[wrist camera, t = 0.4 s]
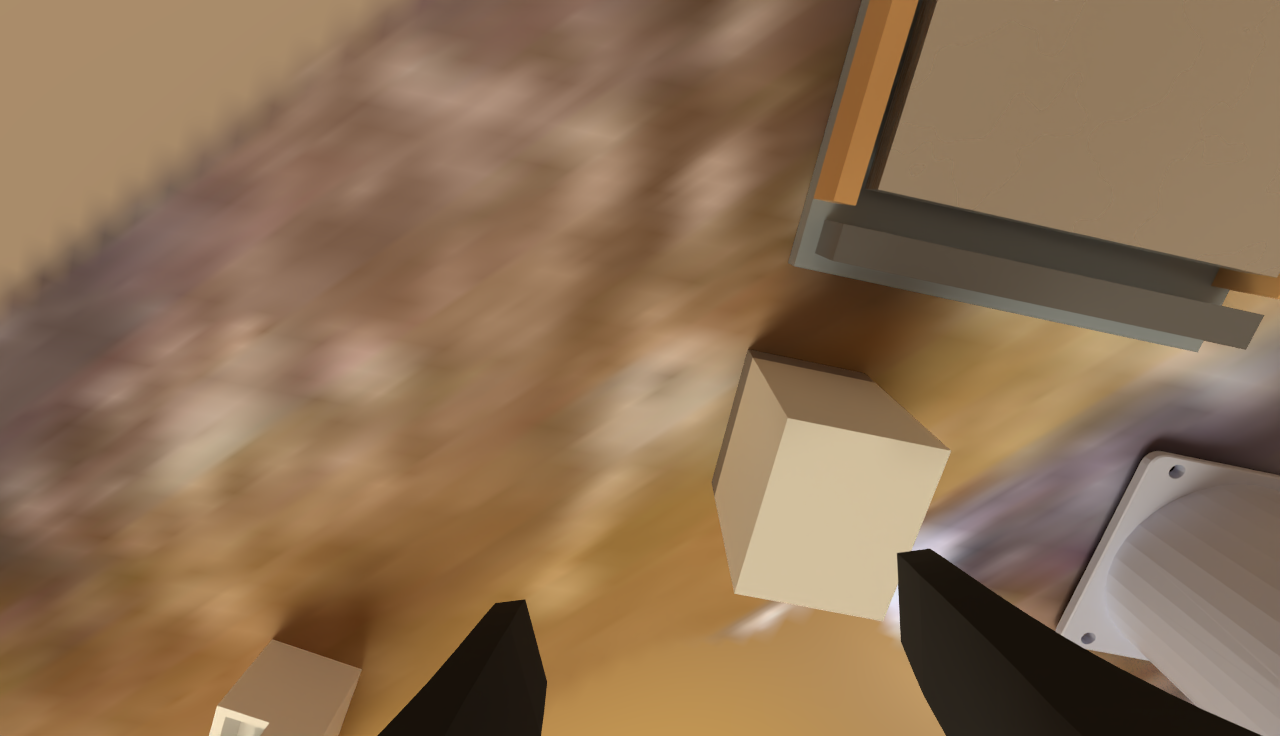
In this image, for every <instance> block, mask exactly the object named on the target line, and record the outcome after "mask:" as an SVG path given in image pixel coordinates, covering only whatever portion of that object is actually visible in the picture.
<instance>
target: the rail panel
mask: <svg viewBox="0 0 1280 736" xmlns="http://www.w3.org/2000/svg"><path fill="white" fill-rule="evenodd" d="M922 1H923V0H862V2H861V5H860V9H859V12H858V16H857V19H856V23H855V27H854V30H853V34H852V37H851V41H850V44H849V48H848V51H847V55H846V59H845V62H844V66H843V69H842V73H841V76H840V80H839V84H838V87H837V91H836V94H835V98H834V101H833V105H832V108H831V112H830V116H829V119H828V123H827V126H826V130H825V133H824V137H823V140H822V144H821V148H820V151H819V155H818V158H817V162H816V165H815V169H814V173H813V176H812V180H811V183H810V187H809V190H808V194H807V197H806V201H805V205H804V208H803V212H802V215H801V219H800V222H799V226H798V230H797V233H796V237H795V240H794V244H793V247H792V251H791V254H790V258H789V262H788V263H790V264H791V265H793V266H796V267H800V268H805V269H810V270H814V271H819V272H824V273H828V274H833V275H838V276H842V277H847V278H852V279H856V280H861V281H866V282H871V283H875V284H880V285H885V286H889V287H894V288H899V289H903V290H908V291H913V292H917V293H922V294H927V295H931V296H936V297H941V298H946V299H950V300H955V301H960V302H964V303H969V304H974V305H978V306H983V307H988V308H992V309H997V310H1002V311H1006V312H1011V313H1016V314H1021V315H1025V316H1030V317H1035V318H1039V319H1044V320H1049V321H1053V322H1058V323H1063V324H1067V325H1072V326H1077V327H1081V328H1086V329H1091V330H1095V331H1100V332H1105V333H1110V334H1114V335H1119V336H1124V337H1128V338H1133V339H1138V340H1142V341H1147V342H1152V343H1156V344H1161V345H1166V346H1170V347H1175V348H1180V349H1185V350H1189V351H1194V352H1198V351H1199V349H1200V347H1201V345H1202V343H1203V341H1208V342H1213V343H1218V344H1222V345H1227V346H1232V347H1236V348H1241V349H1246V348H1247V347H1248V345H1249V343H1250V341H1251V339H1252V337H1253V335H1254V333H1255V332H1256V330H1257V328H1258V326H1259V324H1260V322H1261V320H1262V318H1263V317H1264V315H1261V314H1256V313H1251V312H1247V311H1242V310H1238V309H1233V308H1229V307H1224V306H1222V304H1223V302H1224V300H1225V298H1226V296H1227V294H1228V292H1229V290H1233V291H1238V292H1243V293H1249V294H1254V295H1259V296H1265V297H1270V298H1275V299H1280V273H1279V275H1278V277H1277V278H1276V277H1270V276H1263V275H1257V274H1250V273H1244V272H1239V271H1234V270H1229V269H1225V268H1220V267H1216V266H1211V265H1207V264H1202V263H1198V262H1193V261H1189V260H1184V259H1180V258H1175V257H1171V256H1166V255H1162V254H1157V253H1153V252H1148V251H1144V250H1139V249H1134V248H1130V247H1125V246H1121V245H1116V244H1112V243H1107V242H1103V241H1098V240H1094V239H1089V238H1085V237H1080V236H1076V235H1071V234H1067V233H1062V232H1058V231H1053V230H1048V229H1044V228H1039V227H1035V226H1030V225H1026V224H1021V223H1017V222H1012V221H1008V220H1003V219H999V218H994V217H990V216H985V215H981V214H976V213H972V212H967V211H962V210H958V209H953V208H949V207H944V206H940V205H935V204H931V203H926V202H922V201H917V200H913V199H908V198H904V197H899V196H895V195H890V194H886V193H881V192H876V191H872V190H867V189H865V186H866V183H867V180H868V176H869V173H870V170H871V167H872V163H873V160H874V157H875V154H876V150H877V147H878V144H879V141H880V137H881V134H882V131H883V128H884V124H885V121H886V118H887V115H888V111H889V108H890V105H891V102H892V99H893V95H894V92H895V89H896V86H897V82H898V79H899V76H900V73H901V69H902V66H903V63H904V60H905V56H906V53H907V50H908V47H909V43H910V40H911V37H912V34H913V30H914V27H915V24H916V21H917V17H918V14H919V11H920V8H921V4H922Z"/></svg>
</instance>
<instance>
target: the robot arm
mask: <svg viewBox="0 0 1280 736" xmlns="http://www.w3.org/2000/svg"><path fill="white" fill-rule="evenodd" d="M1173 466H1175V468H1174V469H1173V470H1172V471H1171V472H1169V470H1170V469H1171V468H1172V467H1173ZM897 567H898V589H899V610H900V631H901V643H902V645H903V648H904V650H905V652H906V655H907V657H908V660H909V662H910V665H911V667H912V669H913V672H914V674H915V676H916V679H917V681H918V683H919V686H920V688H921V690H922V692H923V695H924V697H925V698H926V700H927V702H928V704H929V706H930V708H931V709H932V711H933V713H934V715H935V717H936V718H937V720H938V722H939V724H940V726H941V727H942V729H943V731H944V733H945V735H946V736H1280V475H1276V474H1271V473H1266V472H1261V471H1256V470H1252V469H1247V468H1242V467H1237V466H1232V465H1227V464H1222V463H1217V462H1212V461H1208V460H1203V459H1198V458H1193V457H1188V456H1183V455H1178V454H1173V453H1168V452H1163V451H1154V452H1151V453H1149V454H1147V455H1146V456H1145V457H1144V458H1143V459H1142V461H1141V462H1140V464H1139V466H1138V468H1137V470H1136V472H1135V474H1134V476H1133V478H1132V480H1131V482H1130V484H1129V486H1128V488H1127V490H1126V492H1125V494H1124V496H1123V498H1122V500H1121V501H1120V503H1119V505H1118V507H1117V509H1116V511H1115V513H1114V515H1113V517H1112V519H1111V521H1110V523H1109V525H1108V527H1107V529H1106V531H1105V533H1104V535H1103V537H1102V539H1101V541H1100V543H1099V545H1098V547H1097V549H1096V551H1095V553H1094V555H1093V556H1092V558H1091V560H1090V562H1089V564H1088V566H1087V568H1086V570H1085V572H1084V574H1083V576H1082V578H1081V580H1080V582H1079V584H1078V586H1077V588H1076V590H1075V592H1074V594H1073V596H1072V598H1071V600H1070V602H1069V604H1068V606H1067V608H1066V610H1065V612H1064V613H1063V615H1062V617H1061V619H1060V621H1059V623H1058V625H1057V628H1056V632H1055V631H1054V630H1052V629H1050V628H1049V627H1047V626H1045V625H1044V624H1042V623H1041V622H1039V621H1037V620H1036V619H1034V618H1033V617H1031V616H1029V615H1028V614H1026V613H1025V612H1023V611H1022V610H1020V609H1019V608H1017V607H1015V606H1014V605H1012V604H1011V603H1009V602H1008V601H1006V600H1005V599H1003V598H1002V597H1000V596H999V595H997V594H996V593H994V592H993V591H991V590H990V589H988V588H987V587H985V586H984V585H982V584H981V583H980V582H978V581H977V580H975V579H974V578H972V577H971V576H969V575H968V574H966V573H965V572H963V571H962V570H961V569H959V568H958V567H956V566H955V565H953V564H952V563H950V562H949V561H948V560H946V559H945V558H943V557H942V556H940V555H939V554H937V553H936V552H934V551H933V550H931V549H924V550H916V551H908V552H900V553H897ZM1084 634H1085V635H1084ZM1086 649H1089V650H1094V651H1100V652H1105V653H1110V654H1116V655H1121V656H1126V657H1132V658H1137V659H1142V660H1148V661H1150V662H1151V663H1152V664H1154V665H1155V666H1156V667H1157V668H1158V669H1159V670H1160V671H1161V672H1162V673H1163V674H1164V675H1165V676H1166V677H1167V678H1168V679H1169V680H1170V681H1171V682H1172V683H1173V684H1174V685H1175V686H1176V687H1177V688H1179V689H1180V690H1181V691H1182V692H1183V693H1184V694H1185V695H1186V696H1187V697H1188V698H1189V699H1190V700H1191V701H1192V702H1193V703H1194V704H1195V705H1196V706H1194V705H1192V704H1190V703H1188V702H1186V701H1184V700H1182V699H1180V698H1177V697H1175V696H1173V695H1171V694H1169V693H1167V692H1165V691H1163V690H1161V689H1159V688H1157V687H1155V686H1153V685H1151V684H1149V683H1148V682H1146V681H1144V680H1142V679H1140V678H1138V677H1136V676H1134V675H1132V674H1130V673H1128V672H1126V671H1124V670H1122V669H1120V668H1118V667H1116V666H1115V665H1113V664H1111V663H1109V662H1107V661H1105V660H1104V659H1102V658H1100V657H1098V656H1096V655H1094V654H1093V653H1091V652H1089V651H1088V650H1086ZM546 688H547V680H546V676H545V672H544V669H543V665H542V661H541V657H540V654H539V650H538V646H537V642H536V638H535V635H534V631H533V627H532V623H531V620H530V616H529V612H528V608H527V604H526V601H525V600H518V601H510V602H502V603H495V604H494V605H493V607H492V608H491V609H490V610H489V611H488V612H487V613H486V615H485V616H484V617H483V618H482V619H481V620H480V622H479V623H478V624H477V625H476V626H475V628H474V629H473V630H472V631H471V632H470V634H469V635H468V636H467V637H466V638H465V640H464V641H463V642H462V643H461V644H460V646H459V647H458V648H457V649H456V650H455V652H454V653H453V654H452V655H451V656H450V657H449V658H448V660H447V661H446V662H445V663H444V664H443V665H442V667H441V668H440V669H439V670H438V671H437V672H436V674H435V675H434V676H433V677H432V678H431V679H430V680H429V682H428V683H427V684H426V685H425V686H424V687H423V688H422V689H421V690H420V691H419V692H418V693H417V695H416V696H415V697H414V698H413V699H412V700H411V701H410V702H409V703H408V704H407V705H406V706H405V707H404V708H403V709H402V711H401V712H400V713H399V714H398V715H397V716H396V717H395V718H394V719H393V720H392V721H391V722H390V723H389V724H388V725H387V727H386V728H385V729H384V730H383V731H382V732H381V733H380V734H379V735H378V736H541V731H542V723H543V715H544V707H545V697H546Z"/></svg>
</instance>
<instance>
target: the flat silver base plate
mask: <svg viewBox="0 0 1280 736" xmlns="http://www.w3.org/2000/svg"><path fill="white" fill-rule="evenodd" d="M865 189H867V190H872V191H876V192H881V193H886V194H890V195H895V196H899V197H904V198H908V199H913V200H917V201H922V202H926V203H931V204H935V205H940V206H944V207H949V208H953V209H958V210H962V211H967V212H972V213H976V214H981V215H985V216H990V217H994V218H999V219H1003V220H1008V221H1012V222H1017V223H1021V224H1026V225H1030V226H1035V227H1039V228H1044V229H1048V230H1053V231H1058V232H1062V233H1067V234H1071V235H1076V236H1080V237H1085V238H1089V239H1094V240H1098V241H1103V242H1107V243H1112V244H1116V245H1121V246H1125V247H1130V248H1134V249H1139V250H1144V251H1148V252H1153V253H1157V254H1162V255H1166V256H1171V257H1175V258H1180V259H1184V260H1189V261H1193V262H1198V263H1202V264H1207V265H1211V266H1216V267H1220V268H1225V269H1229V270H1234V271H1239V272H1244V273H1250V274H1257V275H1263V276H1270V277H1276V278H1277V277H1278V275H1279V273H1280V0H923V1H922V4H921V8H920V11H919V14H918V17H917V21H916V24H915V27H914V30H913V34H912V37H911V40H910V43H909V47H908V50H907V53H906V56H905V60H904V63H903V66H902V69H901V73H900V76H899V79H898V82H897V86H896V89H895V92H894V95H893V99H892V102H891V105H890V108H889V111H888V115H887V118H886V121H885V124H884V128H883V131H882V134H881V137H880V141H879V144H878V147H877V150H876V154H875V157H874V160H873V163H872V167H871V170H870V173H869V176H868V180H867V183H866V186H865Z"/></svg>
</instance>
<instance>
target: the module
mask: <svg viewBox="0 0 1280 736" xmlns="http://www.w3.org/2000/svg"><path fill="white" fill-rule="evenodd" d="M950 452H951V450H950V449H948V448H947V447H946V446H945V445H944V444H943V443H942V442H941V441H940V440H938V439H937V438H936V437H935V436H934V435H933V434H932V433H931V432H930V431H928V430H927V429H926V428H925V427H924V426H923V425H922V424H921V423H920V422H918V421H917V420H916V419H915V418H914V417H913V416H912V415H911V414H910V413H908V412H907V411H906V410H905V409H904V408H903V407H902V406H901V405H900V404H898V403H897V402H896V401H895V400H894V399H893V398H892V397H891V396H890V395H888V394H887V393H886V392H885V391H884V390H883V389H882V388H881V387H880V386H878V385H877V384H876V383H875V382H874V381H873V380H872V379H871V378H870V377H868V376H867V375H866V374H865V373H861V372H856V371H852V370H847V369H842V368H837V367H832V366H827V365H822V364H818V363H813V362H808V361H803V360H798V359H793V358H788V357H784V356H779V355H774V354H769V353H764V352H759V351H754V350H750V349H748V351H747V354H746V358H745V362H744V365H743V369H742V373H741V376H740V380H739V384H738V388H737V391H736V395H735V399H734V402H733V406H732V410H731V413H730V417H729V421H728V424H727V428H726V432H725V435H724V439H723V443H722V446H721V450H720V454H719V457H718V461H717V465H716V468H715V472H714V476H713V479H712V486H713V491H714V496H715V501H716V506H717V511H718V516H719V521H720V526H721V530H722V535H723V540H724V545H725V550H726V555H727V560H728V565H729V570H730V575H731V580H732V584H733V589H734V594H740V595H745V596H750V597H756V598H761V599H767V600H772V601H777V602H783V603H788V604H793V605H799V606H804V607H809V608H815V609H820V610H825V611H831V612H836V613H842V614H848V615H852V616H858V617H863V618H868V619H874V620H879V621H883V619H884V617H885V614H886V612H887V609H888V607H889V604H890V602H891V599H892V597H893V595H894V592H895V590H896V587H897V585H898V567H897V553H900V552H908V551H911V550H912V547H913V545H914V542H915V540H916V537H917V535H918V532H919V530H920V527H921V525H922V522H923V520H924V517H925V515H926V512H927V510H928V507H929V505H930V502H931V500H932V497H933V495H934V492H935V490H936V487H937V485H938V482H939V480H940V477H941V475H942V472H943V470H944V467H945V465H946V462H947V460H948V457H949V455H950Z"/></svg>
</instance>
